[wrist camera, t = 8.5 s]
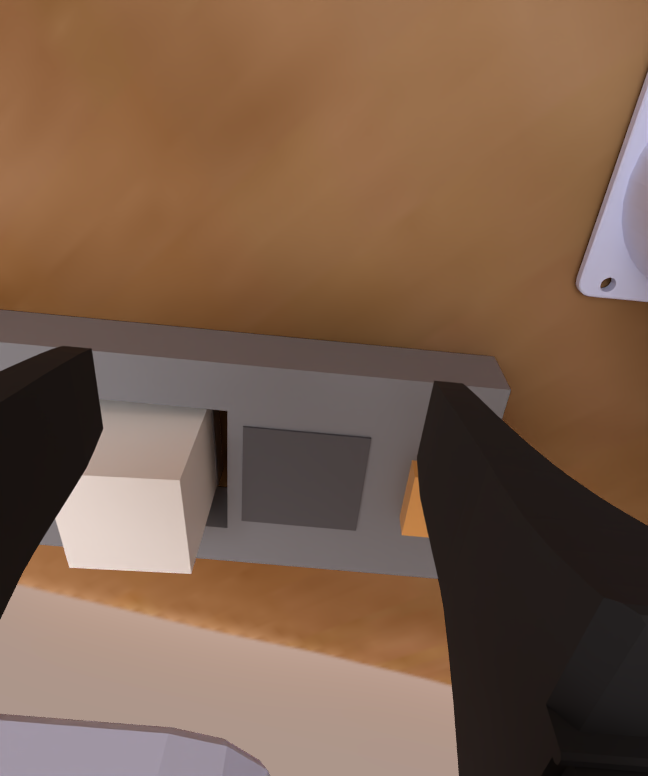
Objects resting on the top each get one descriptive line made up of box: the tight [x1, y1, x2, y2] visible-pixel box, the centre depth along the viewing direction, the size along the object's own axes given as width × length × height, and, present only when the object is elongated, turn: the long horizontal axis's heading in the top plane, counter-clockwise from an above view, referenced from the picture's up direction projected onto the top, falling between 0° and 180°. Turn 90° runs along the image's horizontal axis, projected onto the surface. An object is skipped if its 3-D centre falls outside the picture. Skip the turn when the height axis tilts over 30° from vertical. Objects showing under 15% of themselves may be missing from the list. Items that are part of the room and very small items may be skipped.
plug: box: [55, 399, 223, 574], centre depth 21 cm, size 4×4×6 cm
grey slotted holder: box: [0, 310, 511, 579], centre depth 22 cm, size 20×10×4 cm, turn 85°
